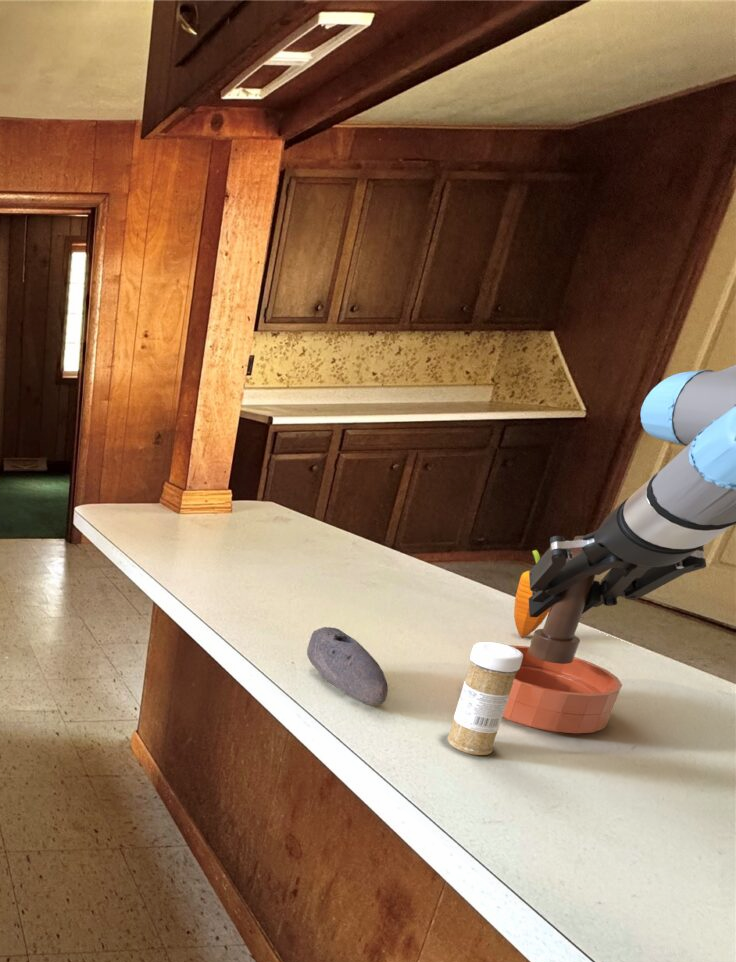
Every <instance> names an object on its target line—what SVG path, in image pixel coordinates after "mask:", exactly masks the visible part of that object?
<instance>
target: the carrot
mask: <svg viewBox="0 0 736 962" xmlns="http://www.w3.org/2000/svg"><path fill="white" fill-rule="evenodd" d="M531 552H532V556H533V558H534V561H535V564H536V563H537V562H538V561H539V560H540V558H541V556H540V553H539V551H538V549H534V550H532V551H531ZM530 571H531V570H527V571H524V572H522V574H521V575H520V578H519V582H518V585H517V589H516V594H515V597H514V606H513V607H514V608H513V611H514V613H513V618H514V623H515V624H514V625H515V627H516V630H517V632H518V636H520V638H525V637H528V636H529V635H530V634H532V633H534V632H535V631H536V630H537V629H538V627H539V626H540V625H541V624H542V623H543V622H544V620H546V618H547V616H548V613H549V610H550V608H548V609H547V610H546V611H545V612H543V613H542V614H541V615H539V616H538V617H537V618H536V617H530V613H529V598H530V597H531V596H532V591H531V590H530V580H529V572H530Z"/></svg>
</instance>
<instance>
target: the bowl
mask: <svg viewBox="0 0 736 962" xmlns="http://www.w3.org/2000/svg"><path fill="white" fill-rule="evenodd" d="M507 645H508V646H511V647H513V648H516V649H518V650H519V651H520V652H521V653H522V654H523V659H522V663H521V666H520V669H519V670H518V672H517V673H516V674H515V678H514V681H513V684H512V688H511V691H510V695H509V698H508V701H507V704H506V708H505V711H504V713H503V717H502V719H506V720H508V721H511V722H514V723H516V724H518V725H522V726H526V727H529V728H533V729H538V730H541V731H547V732H554V733H563V734H564V733H565V734H566V733H567V734H589V733H596V732H598V731H601V730H603V729H605V728H606V727H607V724H608V722H609V720H610V717H611V715H612V712H613V710H614V707H615V706H616V703H617V700H618V697H619V695H620V693H621V691H622V687H623V684H622V682H621V681H620V679H619V677H618V676H616V675H615V674H613V673H612V672H610V671H609V670H608V669H606V668H604V667H601V666H599V665H597V664H595V663H593V662H591V661H588V660H585V659H582V658H579V657H576V656H574V659H573V661H572V662H571V663H568V664H559V663H552V662H547V661H543V660H540V659H538V658H535V657H533V656H531V655H530V654H529V653H528V650H529V647H530V646H525V645H513V644H507Z"/></svg>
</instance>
